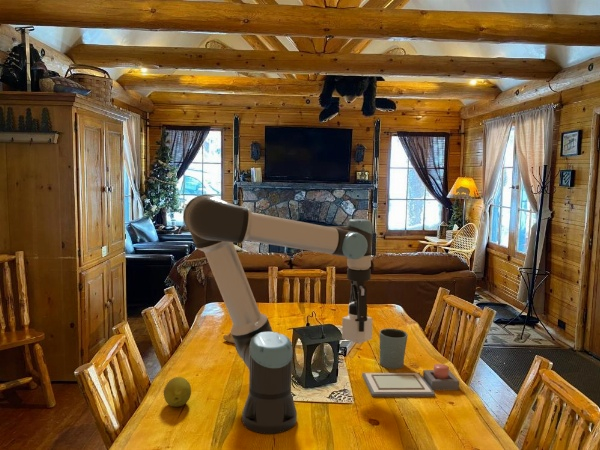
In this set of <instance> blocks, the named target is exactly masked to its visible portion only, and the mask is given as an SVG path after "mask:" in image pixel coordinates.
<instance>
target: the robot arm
mask: <svg viewBox="0 0 600 450" xmlns="http://www.w3.org/2000/svg"><path fill="white" fill-rule="evenodd" d="M183 222H184V225H185V227H186V228H187V229H188V230H189V233H190V235H191V238H192V240H193V243H194V245H195V247H196V250H199V251H201V252H203V253H204V255H205V258H206V260H207V262H208V265H209V267H210V270H211V273H212V275H213V278H214V280H215V282H216V286H217V288H218V290H219V293H220V295H221V297H222V300H223V302H224V304H225V305H224V306H225V307H226V309H227V313H228V315H229V317H230V320H231V322H232V326H231V328H230V332H231V334H232V336H233V339H234V341H235V343H234V345H235V346H234V347H235V351H236V352H237V355H238V356H239V357H240V358H241V360H242V361H243V362H244V364H245V365H246V367H247V369H248V372H249V373H248V374H249V376H248V378H249V379H248V380H249V381H248V395H247V398H246V400H245V404H244V407H243V409H242V416H241V417H242V418H241V420H242V424H243V426H244V427H245V428H247V429H248V430H250V431H253V432H255V433H258V434H266V435H267V434H269V435H271V434H272V435H273V434H279V433H283V432H286V431H289V430H291V429H292V428H293V427H294V426H295V425H296V424H297V420H298V416H297V415H298V414H297V413H298V412H297V409H296V405H295V402H294V398H293V394H292V376H293V375H292V374H293V373H292V372H293V371H292V370H293V354H294V353H293V344H292V341H291V340H290V338H289V337H288V335H287V336H286V335H285V334H283V333H279V332H277V331H276V332H275V331H273V329H272V325H271V323H270V321H269V318H268V316H267V315H266V314H263V313H261V312H260V310H259V307H258V304H257V302H256V298H255V297H254V293H253V291H252V289H251V286H250V283H249V280H248V278H247V275H246V273H245V270H244V268H243V265H242V262H241V259H240V258H239V255H238V251H237V249H236V247H235V245H234V243H235V244H243V243H244V242H254V243H261V244H266V245H271V246H277V247H285V248H291V249H297V250H305V251H310V252H315V253H320V254H328V255H332V256H339V257H344V258H346V259H347V260H346V264H347V265H346V266H347V269H346V271H347V272H346V278H347V280H348V281H350V293H349V303H351V302H356V308H357V319H355V321H356V341H365V321H367V317H368V304H367V303H368V301H367V293H368V289H367V287H366V286H365V282H369V281H371V277H372V275H371V274H372V269H371V267H372V260H373V259H374V258H373V257H372V246H373V245H372V243H373V241H372V240H373V225H372V224H373V222H372V221H371V220H370V219H363V218H353V219H352V218H351V219H349V220H348V222H347V225H344V226H342V225H340V226H339V225H338V226H336V225H335V226H334V225H331V226H325V225H319V224H315V223H309V222H306V221H305V222H304V221H299V220H295V219H289V218H283V217H278V216H272V215H267V214H262V213H257V212H251V210H250V209H249V207H246V206H240V205H237V204H234V203H232V202H230V201H226V200H223V199H222V198H219V197H216V196H214V195H210V194H202V195H197V196H195V197H194V198H192V199H190V200H189V201H188V203H187V204H186V205H185V206H184V210H183ZM365 342H366V341H365Z"/></svg>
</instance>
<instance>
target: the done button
mask: <svg viewBox="0 0 600 450" xmlns="http://www.w3.org/2000/svg"><path fill="white" fill-rule="evenodd" d="M433 370H434V374H433V377H434V378H435V379H448V375H449V371H450V368H449V366H448V365H445V364H442V363H437V364H433Z"/></svg>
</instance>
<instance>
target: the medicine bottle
mask: <svg viewBox="0 0 600 450" xmlns="http://www.w3.org/2000/svg"><path fill="white" fill-rule="evenodd" d="M347 312H348V314H347V316H344V317H342V318H341V319H342V321H341V322H342V323H341V324H342V325H341V326H342V327H341V328H342V329H341V331H342V332H341V339H342V340H345V341H349V342H352V343H354V344H358V345H361V344H362V343H364V342H367V341H369V340H370V341H371V340H372V339H373V317H370V316H367V321H365V341H356V321H355V319H357V308H356V302H351V303H350V302H349V303H348V311H347Z"/></svg>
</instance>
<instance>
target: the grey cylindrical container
mask: <svg viewBox="0 0 600 450" xmlns="http://www.w3.org/2000/svg"><path fill="white" fill-rule="evenodd" d="M407 341H408V333H407V332H406V331H405V330H401V329H397V328H383V329H380V330H379V364H380V365H381V366H382V367H383V368H387V369H390V370H392V369H393V370H398V369H401V368H403V367H404V364H405V354H406V346H407Z"/></svg>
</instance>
